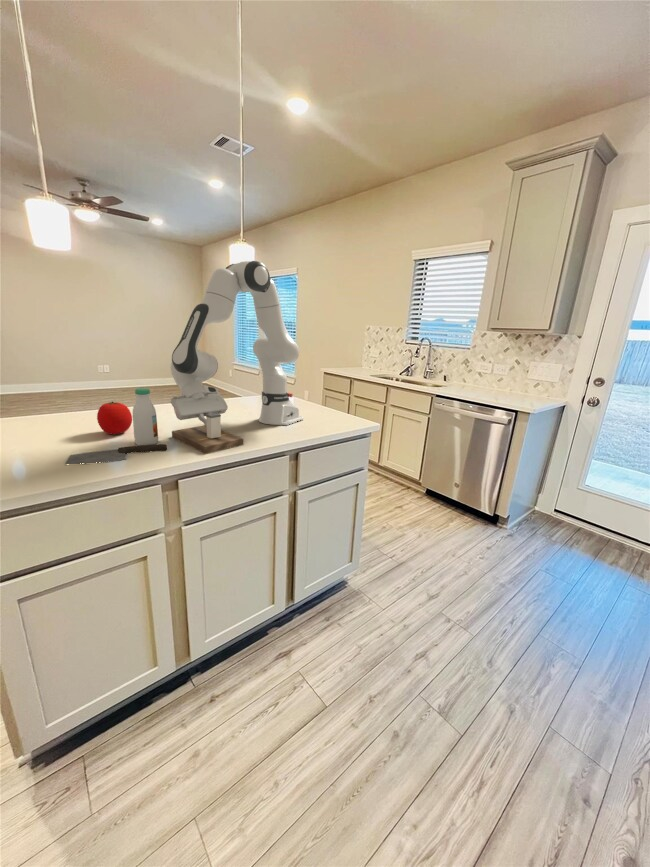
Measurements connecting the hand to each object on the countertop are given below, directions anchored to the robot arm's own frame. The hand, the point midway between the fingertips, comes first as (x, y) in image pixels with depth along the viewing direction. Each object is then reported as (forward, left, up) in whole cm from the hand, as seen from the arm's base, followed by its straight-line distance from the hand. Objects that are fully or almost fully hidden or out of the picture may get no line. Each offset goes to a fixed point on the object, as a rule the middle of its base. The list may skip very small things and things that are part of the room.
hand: (209, 424), depth 133 cm
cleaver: (+30, -6, -8) cm, 31 cm away
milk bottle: (+18, -13, -7) cm, 23 cm away
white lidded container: (0, +3, -4) cm, 5 cm away
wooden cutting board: (0, -2, -7) cm, 7 cm away
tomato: (+22, -31, -7) cm, 39 cm away
